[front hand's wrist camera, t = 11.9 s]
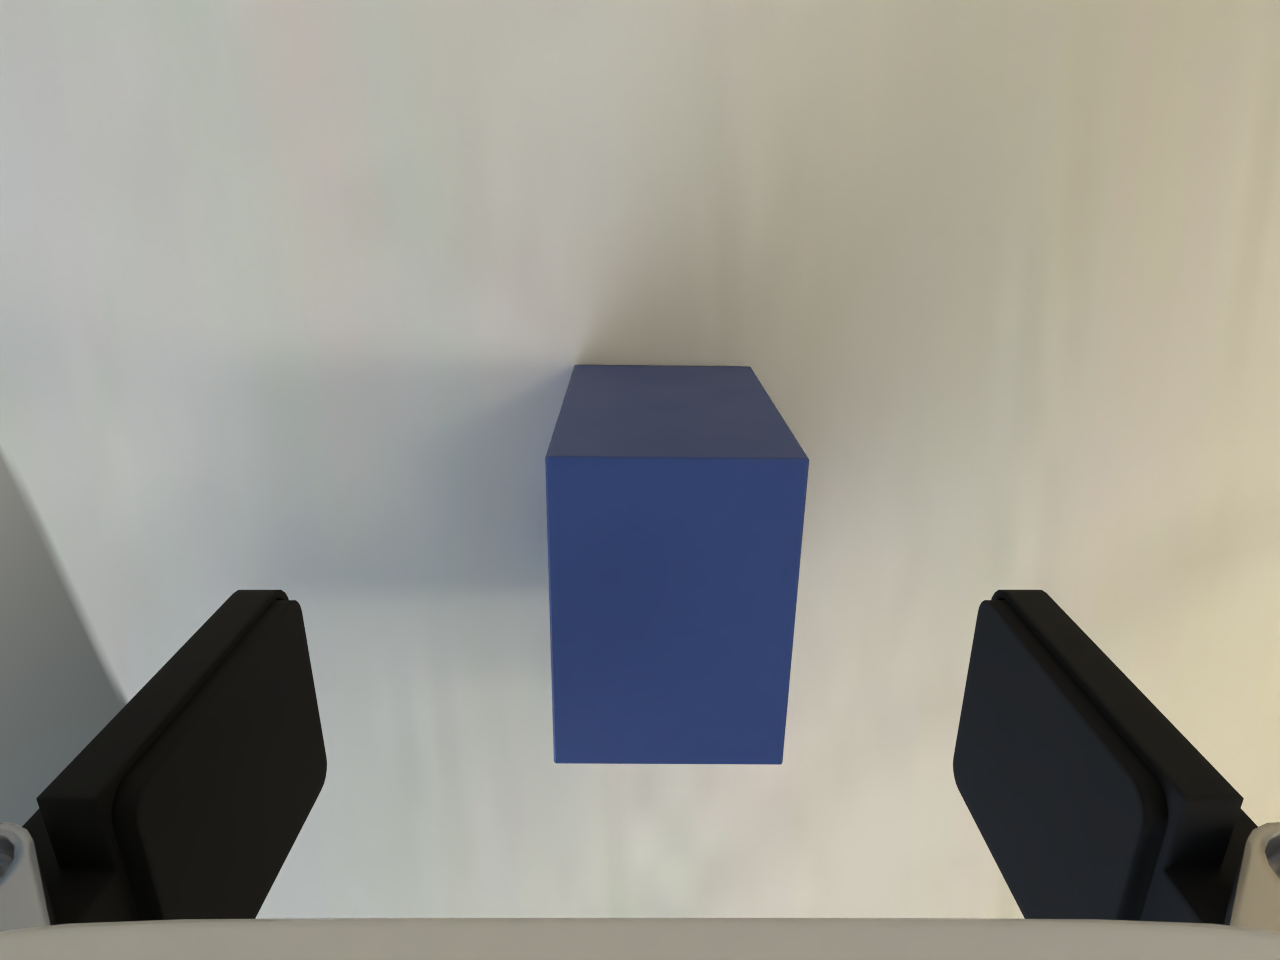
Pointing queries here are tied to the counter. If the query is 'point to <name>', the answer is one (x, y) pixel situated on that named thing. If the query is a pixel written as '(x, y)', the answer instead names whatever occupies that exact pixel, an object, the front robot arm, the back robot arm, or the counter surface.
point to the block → (672, 566)
